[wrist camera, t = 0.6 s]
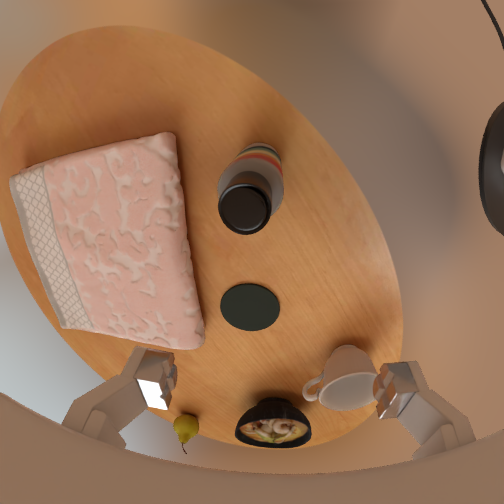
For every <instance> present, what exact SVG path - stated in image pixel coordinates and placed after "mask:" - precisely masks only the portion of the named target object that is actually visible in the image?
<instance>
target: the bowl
mask: <svg viewBox="0 0 504 504" xmlns="http://www.w3.org/2000/svg"><path fill="white" fill-rule="evenodd" d="M311 435H312V433H311V426H310V423H309V421H308V419H307V418H306V416H305V415H304V414H303V413H302V412H301V411H300V410H299V409H297V408H296V407H294V406H293V405H292V404H291V403H290V402H289V401H288V400H286V399H282V398H266V399H263V400H261V401H260V402H259V403H258V404H257V405H256V406H254V407H252V408H251V409H249V410H248V411H247V412H246V413H245V414H244V415H243V416H242V417H241V418H240V420H239V421H238V424H237V426H236V430H235V437H236V438H237V439H238V440H239V441H241V442H243V443H246V444H249V445H253V446H258V447H267V448H293V447H298V446H301V445H303V444H305V443H306V442H308V441H309V440H310V438H311Z"/></svg>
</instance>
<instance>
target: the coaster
mask: <svg viewBox="0 0 504 504" xmlns="http://www.w3.org/2000/svg"><path fill="white" fill-rule="evenodd" d="M220 308H221V312H222V315H223V317H224V318H225V319H226V321H227V322H228V323H230V324H231V325H232V326H234V327H236V328H238V329H241V330H246V331H258V330H262V329H265V328H267V327H269V326H271V325H272V324H273V323H274V322H275V321H276V319H277V318H278V315H279V311H280V307H279V302H278V300H277V298H276V296H275V295H274V294H273V293H272V292H271V291H270V290H268V289H267V288H265V287H263V286H260V285H257V284H240V285H237V286H234V287H232V288H230V289H229V290H228V291H227V292H226V293H225V294H224V295H223V297H222V300H221V305H220Z"/></svg>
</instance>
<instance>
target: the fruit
mask: <svg viewBox="0 0 504 504" xmlns="http://www.w3.org/2000/svg"><path fill="white" fill-rule="evenodd" d="M173 427H174V430H175V431H176V433H177V434H178V436H179V441H180V442H181V443H182V446H183V444H185V443H187V442H188V440H189V439H190V438H192V437H194V436H195V435H196V434H197V433H198V430H199V423H198V421H197V419H196V418H195V417H194V416H192V415H190V414H186V415H181V416H179V417H177V418H176V419H175V421H174V425H173ZM183 450H184V449H183ZM184 452H185V450H184ZM185 453H186V452H185ZM186 454H187V453H186Z"/></svg>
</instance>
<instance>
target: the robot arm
mask: <svg viewBox="0 0 504 504" xmlns="http://www.w3.org/2000/svg"><path fill="white" fill-rule="evenodd" d="M481 1H482V3H483V5H484V7H485V9H486V10H487V12H488V14H489V16H490V18H491V20H492V22H493V24H494V26H495V28H496V30H497V32H498V35H499V37H500V40H501V43H502V46H503V49H504V37H503V34H502V32H501V29H500V27H499V25H498V23H497V21H496V19H495V17H494V15H493V13H492V12H491V10H490V8H489V6H488V4H487V2H486V0H481ZM501 169H502V171H503V173H504V151H503V155H502V160H501ZM174 360H175V357H174V353H171V352H166V351H161V350H156V349H151V348H145V347H140V346H136V347H135V348H134V349H133V351H132V353H131V355H130V357H129V359H128V361H127V363H126V365H125V367H124V369H123V371H122V373H121V375H116V376H114V377H112V378H111V379H109V380H107V381H106V382H104V383H102V384H101V385H99V386H98V387H96V388H94V389H93V390H91V391H89V392H87V393H86V394H84V395H82V396H81V397H79V398H77V399H76V400H74V401H73V403H72V405H71V407H70V409H69V411H68V412H67V415H66V416H65V418H64V420H63V422H62V424H59V423H56V422H54V421H52V420H50V419H48V418H46V417H44V416H42V415H40V414H38V413H36V412H34V411H33V410H31V409H29V408H27V407H25V406H23V405H22V404H20V403H18V402H17V401H15V400H13V399H12V398H10V397H9V396H7V395H5V394H3V393H0V504H504V429H502V430H500V431H498V432H496V433H494V434H491V435H489V436H487V437H484V438H482V439H479V440H476V438H475V436H474V433H473V430H472V428H471V425H470V422H469V420H468V418H467V417H466V416H465V415H463V414H462V413H461V412H460V411H459V410H457V409H456V408H455V407H454V406H452V405H451V404H450V403H449V402H447V401H446V400H445V399H444V398H442V397H441V396H440V395H438V394H437V393H436V392H435V391H433V390H429V387H428V385H427V383H426V380H425V378H424V375H423V373H422V371H421V368H420V366H419V364H418V362H417V361H409V362H395V363H384V364H383V365H382V366H381V368H380V372H381V373H380V374H379V375H377V376H376V378H375V380H374V382H373V396H374V398H375V399H376V400H377V401H378V404H377V406H376V408H377V412H378V416H379V419H388V418H397V417H398V418H397V419H398V420H399V421H400V422H401V423H402V425H403V426H404V427H405V428H406V429H407V430H408V431H409V433H410V434H411V435H412V436H413V437H414V438H415V439H416V440H417V442H418V443H419V444H420V445H421V447H420V448H419V449H418V450H416V451H415V452H414V454H413V455H412V456H413V460H411V461H407V462H403V463H398V464H393V465H387V466H382V467H375V468H369V469H362V470H354V471H344V472H333V473H318V474H264V473H248V472H237V471H227V470H218V469H211V468H204V467H198V466H192V465H187V464H182V463H177V462H172V461H168V460H163V459H159V458H155V457H151V456H147V455H143V454H140V453H136V452H133V451H130V450H126V449H125V446H126V443H125V441H124V440H123V438H122V437H121V436H120V434H119V433H118V432H119V431H120V430H122V429H123V428H124V427H125V426H126V425H128V424H129V423H130V422H131V421H132V420H133V419H135V418H136V417H137V416H138V415H139V414H141V413H142V412H143V411H144V410H145V409H146V408H148V407H147V406H149V407H154V408H159V409H165V410H168V408H169V405H170V401H171V398H172V395H171V392H170V391H172V390H173V389H174V388H175V386H176V382H177V367H176V365H175V364H173V363H174Z"/></svg>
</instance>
